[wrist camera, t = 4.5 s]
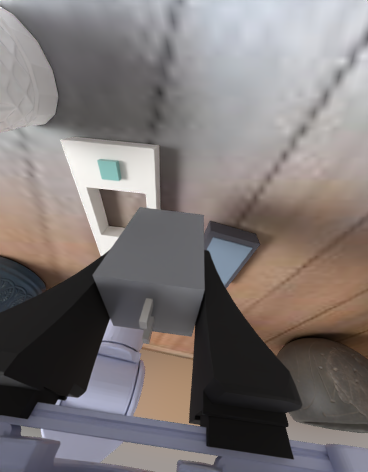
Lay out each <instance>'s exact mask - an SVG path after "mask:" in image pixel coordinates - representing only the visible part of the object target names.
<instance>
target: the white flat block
mask: <svg viewBox="0 0 368 472" xmlns="http://www.w3.org/2000/svg"><path fill="white" fill-rule="evenodd" d="M60 141H61V144H62V147H63V149H64V152H65V155H66V158H67V161H68V164H69V167H70V169H71V172H72V175H73V178H74V181H75V184H76V186H77V189H78V192H79V195H80V198H81V201H82V204H83V206H84V209H85V212H86V215H87V218H88V221H89V223H90V226H91V229H92V232H93V235H94V238H95V241H96V243H97V246H98V249H99V252H100V255H101V256H102V255H104V254H105V253H106V252H108V251H109V250H110V249H111V248H112V246H113V245H114V243H115V242H116V241H117V239H118V238H119V236H120V235H121V233H122V232H123V231H124V229H125V228H123V227H114V226H109V225H108V221H107V217H106V213H105V210H104V206H103V202H102V198H101V194H100V191H99V189H108V190H117V191H126V192H135V193H144V194H146V204H147V208H151V209H159V210H161V207H160V157H159V145H153V144H143V143H132V142H122V141H112V140H102V139H92V138H82V137H71V138H65V139H60Z"/></svg>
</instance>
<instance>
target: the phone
mask: <svg viewBox="0 0 368 472" xmlns="http://www.w3.org/2000/svg"><path fill="white" fill-rule="evenodd" d="M259 246H260V243H259V240H258V238H257V236H256V234H254V233H250V232H247V231H243V230H240V229H236V228H233V227H229V226H226V225H223V224H219V223H216V222H212V221H210V222H209V224H208V226H207V229H206V231H205V233H204V250H208V251H209V252H210V254H211V257H212V260H213V263H214V265H215V268H216V270H217V272H218V274H219V276H220V278H221V280H222V282H223V284H224V286H225V288H227V287H228V286H229V284H230V283H231V282H232V280H233V279H234V278H235V277H236V275H237V274H238V273H239V271H240V270H241V269H242V267H243V266H244V265H245V264H246V262H247V261H248V260H249V258H250V257H251V256H252V255H253V253H254V252H255V251H256V249H257V248H258V247H259Z"/></svg>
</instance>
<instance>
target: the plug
mask: <svg viewBox="0 0 368 472" xmlns="http://www.w3.org/2000/svg"><path fill="white" fill-rule="evenodd" d="M93 278H94V280H95V283H96V285H97V288H98V290H99V292H100V295H101V297H102V300H103V302H104V304H105V307H106V309H107V312H108V314H109V317H110V319H111V321H112V324H113V326H119V327H126V328H133V329H140V330H144V332H143V336H142V341H143V343H146V344H149V342H150V338H151V334H152V331H155V332H162V333H169V334H176V335H184V336H191V337H192V333H193V330H194V326H195V322H196V319H197V315H198V312H199V308H200V305H201V301H202V298H203V294H204V290H205V280H204V215H200V214H192V213H184V212H176V211H167V210H159V209H151V208H143V207H140V208H139V209H138V210H137V212H136V213H135V215H134V216H133V218H132V219H131V220H130V222H129V223H128V225H127V226H126V228H125V229H124V231H123V232H122V233H121V235H120V236H119V238H118V239H117V241H116V242H115V243H114V245H113V246H112V248H111V249H110V251H109V252H108V254H107V255H106V256H105V258H104V259H103V261H102V262H101V264H100V265H99V266H98V268H97V269H96V271H95V272H94V274H93Z"/></svg>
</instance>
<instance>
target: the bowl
mask: <svg viewBox="0 0 368 472" xmlns="http://www.w3.org/2000/svg"><path fill="white" fill-rule="evenodd" d="M276 357H277V358H278V359H279V360H280V361H281V362H282V363H283V365H284V366H285V367H286V368H287V369H288V370H289V371H290V374H291V376H292V378H293V380H294V383H295V385H296V388H297V390H298V393H299V396H300V399H301V402H302V404H303V405H302V407H301V409H299V410H296V411H292V412H289V414H290V415H291V416H292V418H293V419H294V420H295V421H296V422H300V423H304V424H308V425H313V426H319V427H323V428H328V429H334V430H341V431H349V432H357V433H368V359H367V358H365V357H364V356H362V355H361V354H359V353H358V352H356V351H355V350H353V349H351V348H349V347H347V346H345V345H343V344H340V343H337V342H334V341H331V340H328V339H323V338H302V339H298V340H295V341H292V342H290V343H288V344H286V345H285V346H284V347H283V348H282V349H281V350H280V351H279V353H278V355H277V356H276Z"/></svg>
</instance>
